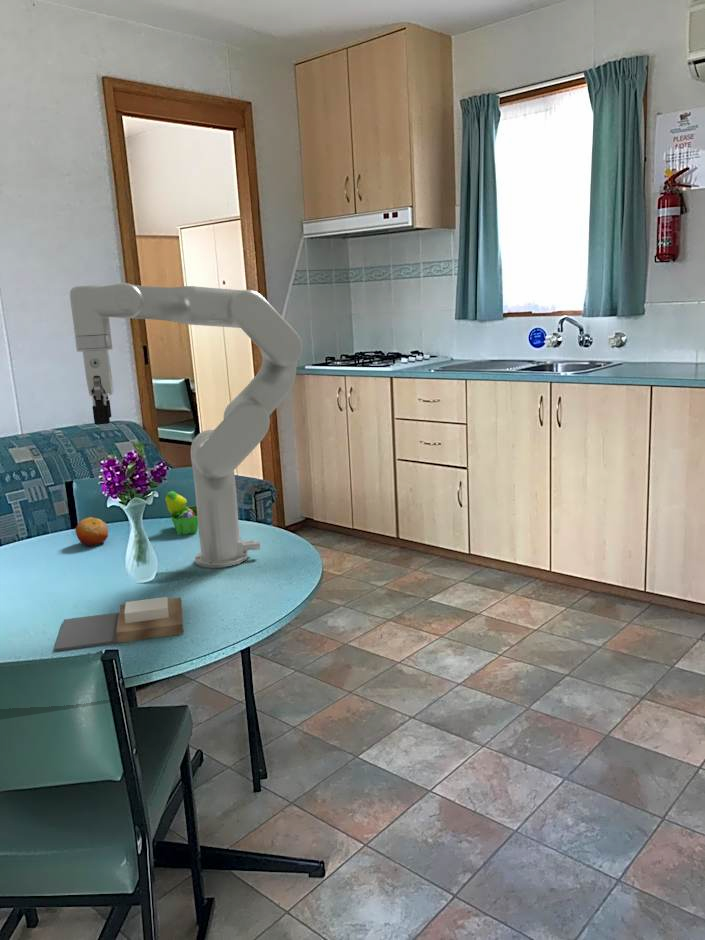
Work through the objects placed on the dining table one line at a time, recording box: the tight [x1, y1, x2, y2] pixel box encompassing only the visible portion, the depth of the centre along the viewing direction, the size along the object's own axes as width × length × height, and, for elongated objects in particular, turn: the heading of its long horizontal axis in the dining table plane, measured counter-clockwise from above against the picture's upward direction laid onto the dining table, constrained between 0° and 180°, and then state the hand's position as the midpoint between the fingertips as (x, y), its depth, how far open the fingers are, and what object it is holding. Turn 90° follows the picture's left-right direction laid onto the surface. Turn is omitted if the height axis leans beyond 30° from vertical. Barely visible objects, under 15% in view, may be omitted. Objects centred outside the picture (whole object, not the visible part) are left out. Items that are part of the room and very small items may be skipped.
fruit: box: [75, 516, 109, 547], centre depth 205 cm, size 8×8×8 cm
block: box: [124, 596, 169, 623], centre depth 151 cm, size 8×6×2 cm
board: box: [116, 597, 184, 644], centre depth 152 cm, size 12×14×2 cm
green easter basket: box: [165, 490, 199, 535], centre depth 214 cm, size 11×9×11 cm
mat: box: [54, 611, 119, 652], centre depth 150 cm, size 11×14×1 cm
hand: (103, 420), depth 174 cm, fingers open, 9 cm apart
